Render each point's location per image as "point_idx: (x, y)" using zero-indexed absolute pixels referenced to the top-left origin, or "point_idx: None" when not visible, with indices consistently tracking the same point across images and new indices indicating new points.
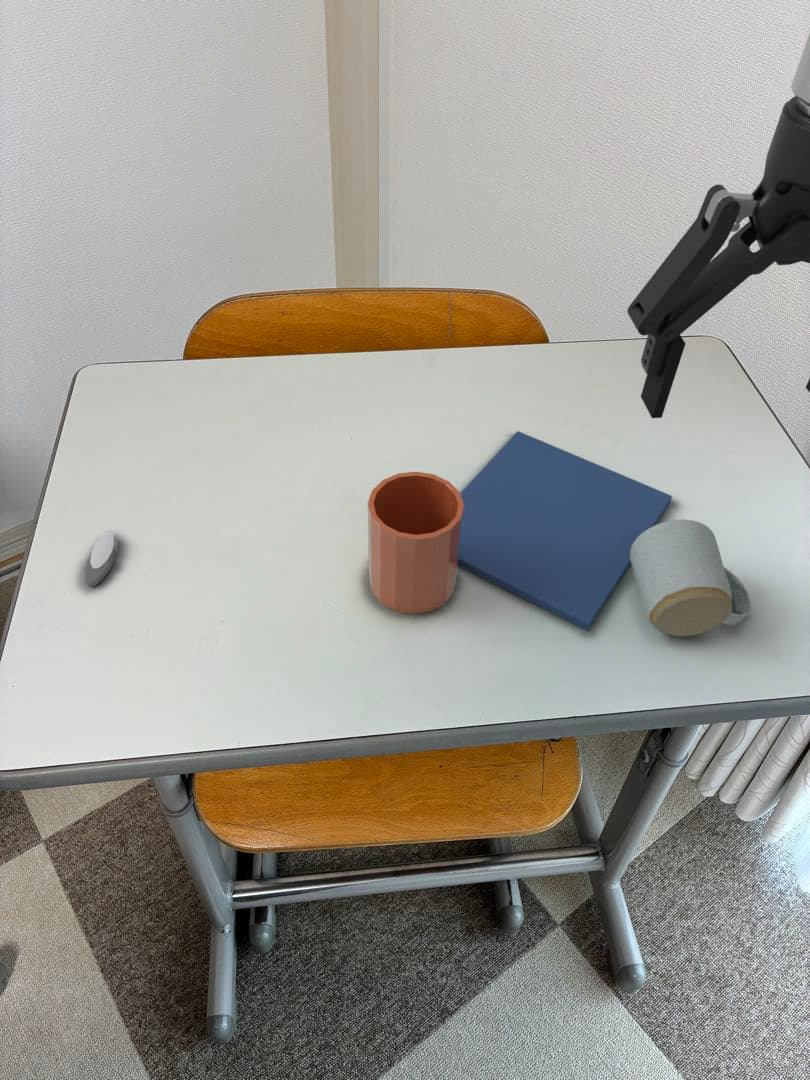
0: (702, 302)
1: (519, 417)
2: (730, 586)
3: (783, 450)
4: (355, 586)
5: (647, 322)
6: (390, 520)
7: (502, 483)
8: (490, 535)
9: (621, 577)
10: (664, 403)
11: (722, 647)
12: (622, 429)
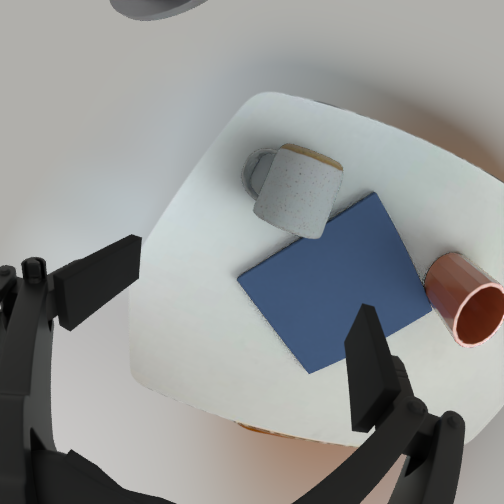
0: (386, 459)
1: (294, 383)
2: (248, 182)
3: (133, 285)
4: None
5: (459, 429)
6: (463, 321)
7: None
8: (391, 296)
9: None
10: (368, 316)
11: (285, 139)
12: (229, 348)
